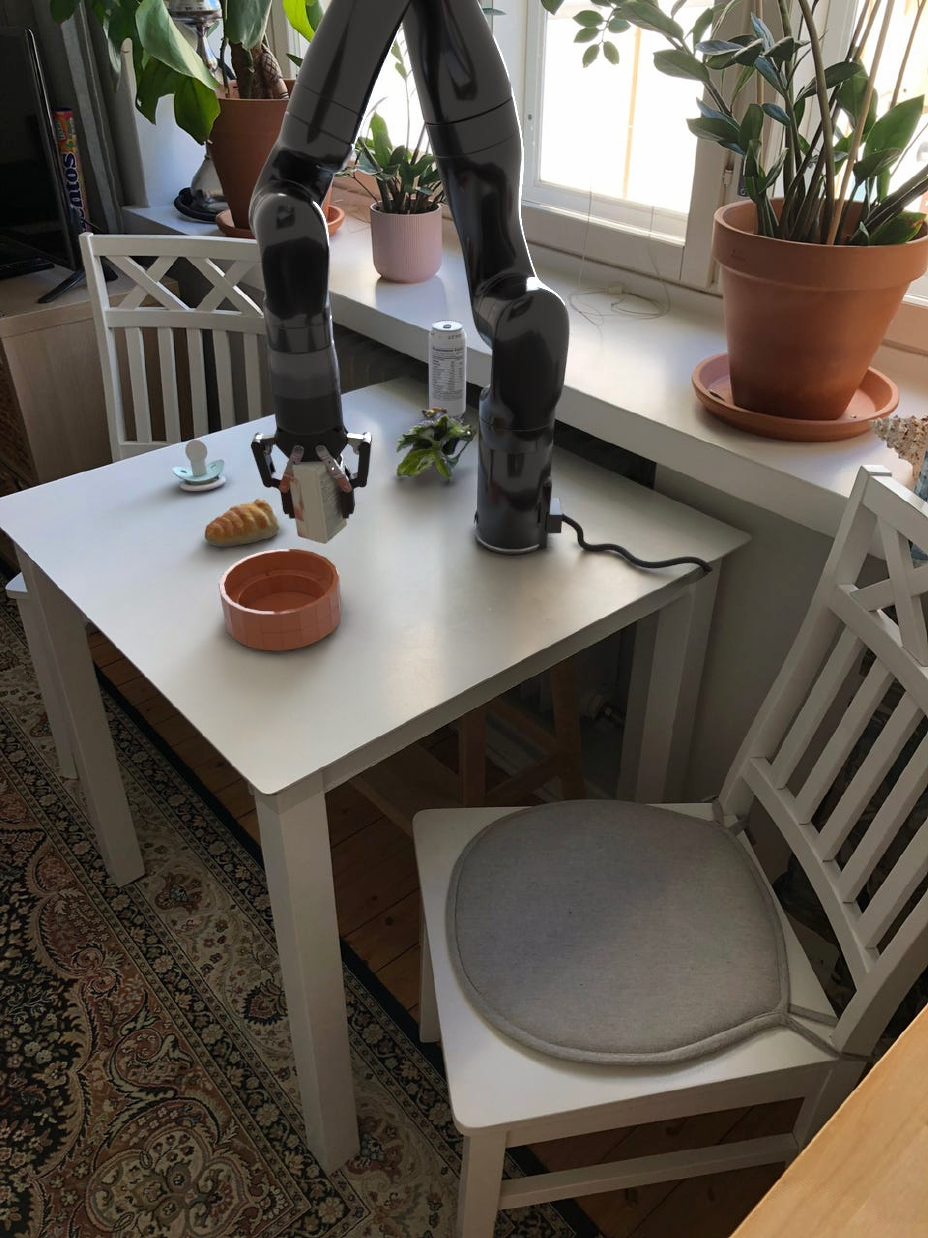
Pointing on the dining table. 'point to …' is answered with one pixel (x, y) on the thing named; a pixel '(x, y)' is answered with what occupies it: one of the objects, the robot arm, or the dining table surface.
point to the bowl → (281, 599)
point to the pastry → (243, 525)
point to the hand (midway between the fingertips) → (320, 515)
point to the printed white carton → (316, 502)
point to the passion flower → (434, 443)
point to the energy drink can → (447, 367)
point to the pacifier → (199, 469)
